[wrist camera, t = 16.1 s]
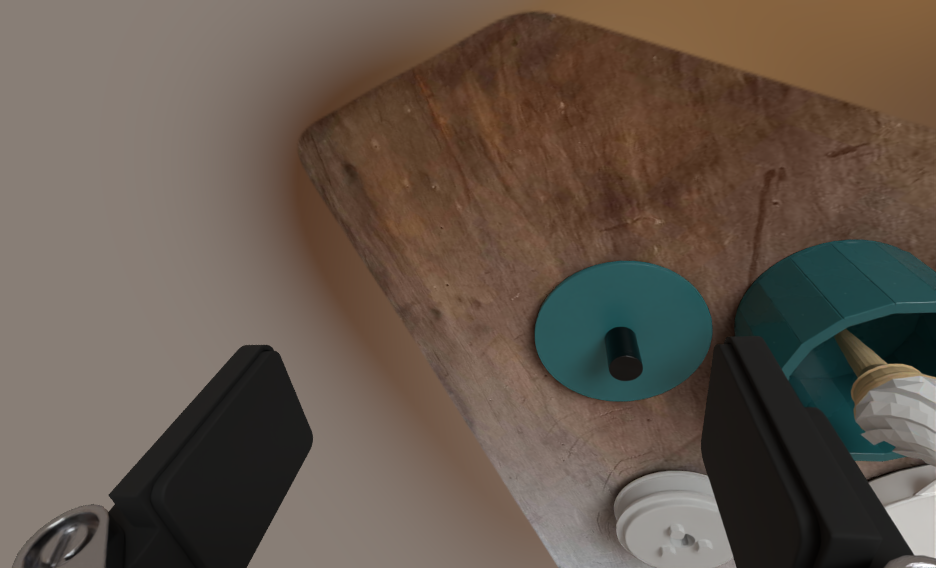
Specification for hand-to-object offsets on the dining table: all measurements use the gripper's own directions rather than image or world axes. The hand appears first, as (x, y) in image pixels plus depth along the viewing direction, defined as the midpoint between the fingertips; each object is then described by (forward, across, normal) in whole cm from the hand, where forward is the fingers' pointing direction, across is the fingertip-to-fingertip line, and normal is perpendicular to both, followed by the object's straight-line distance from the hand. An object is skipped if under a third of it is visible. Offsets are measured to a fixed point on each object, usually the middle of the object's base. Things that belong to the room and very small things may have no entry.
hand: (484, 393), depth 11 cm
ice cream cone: (+28, -22, +18) cm, 40 cm away
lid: (+28, -12, +42) cm, 52 cm away
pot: (+28, -22, +18) cm, 40 cm away
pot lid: (+28, -6, +19) cm, 34 cm away
